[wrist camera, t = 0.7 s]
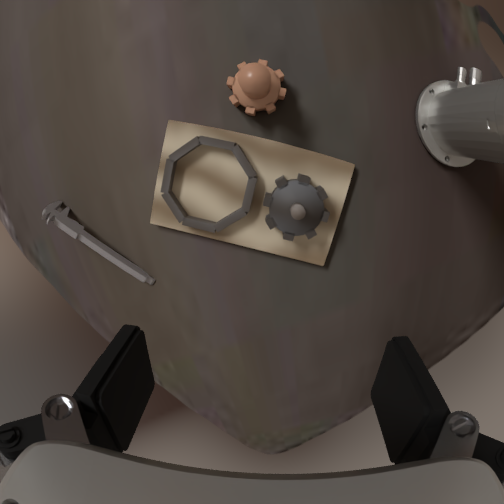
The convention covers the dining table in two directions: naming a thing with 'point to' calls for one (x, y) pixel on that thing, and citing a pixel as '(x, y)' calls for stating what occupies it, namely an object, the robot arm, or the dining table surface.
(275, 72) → the planet gear
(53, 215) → the caliper
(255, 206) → the carrier
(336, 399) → the dining table surface
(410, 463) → the robot arm
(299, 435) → the dining table surface
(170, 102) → the dining table surface
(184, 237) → the dining table surface
